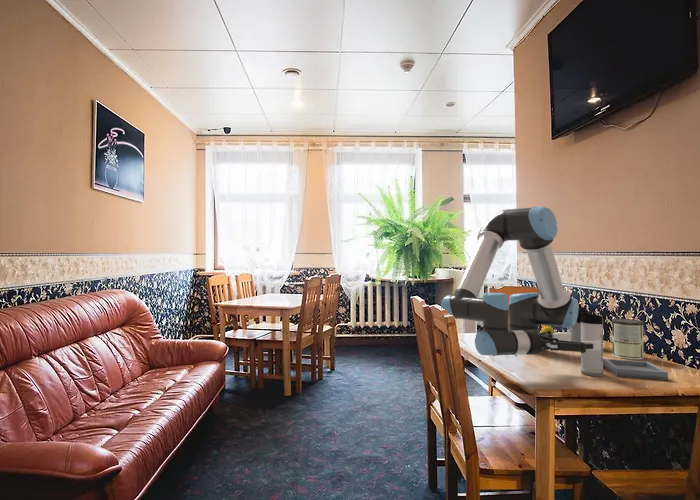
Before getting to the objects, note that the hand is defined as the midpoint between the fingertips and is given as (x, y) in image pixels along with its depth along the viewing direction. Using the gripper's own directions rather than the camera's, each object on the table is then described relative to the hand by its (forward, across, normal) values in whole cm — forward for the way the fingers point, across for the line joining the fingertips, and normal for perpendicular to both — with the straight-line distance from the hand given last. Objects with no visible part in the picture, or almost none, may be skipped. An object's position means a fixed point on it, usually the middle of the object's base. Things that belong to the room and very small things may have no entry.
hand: (584, 341), depth 135 cm
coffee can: (+35, -21, -11) cm, 43 cm away
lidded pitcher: (+34, -41, -11) cm, 55 cm away
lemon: (+21, -48, -11) cm, 54 cm away
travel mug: (+3, 0, -11) cm, 11 cm away
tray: (+18, 0, -11) cm, 21 cm away
